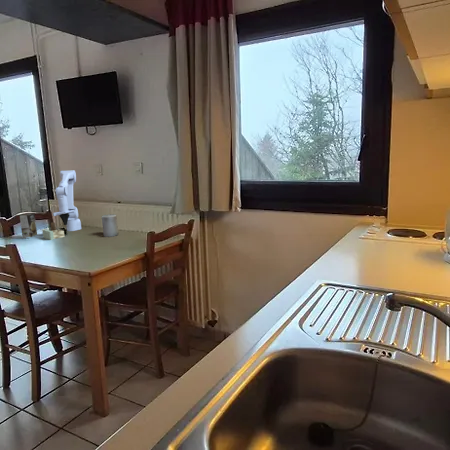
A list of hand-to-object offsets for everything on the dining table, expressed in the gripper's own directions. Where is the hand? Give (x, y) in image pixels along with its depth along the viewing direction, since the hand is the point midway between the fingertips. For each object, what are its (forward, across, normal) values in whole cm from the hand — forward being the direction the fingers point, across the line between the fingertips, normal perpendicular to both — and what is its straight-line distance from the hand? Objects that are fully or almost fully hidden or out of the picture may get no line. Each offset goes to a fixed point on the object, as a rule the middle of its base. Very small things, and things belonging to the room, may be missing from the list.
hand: (65, 224), depth 276 cm
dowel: (+8, -3, +12) cm, 15 cm away
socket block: (+7, -7, 0) cm, 10 cm away
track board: (+8, -4, 0) cm, 9 cm away
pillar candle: (+8, +21, -22) cm, 31 cm away
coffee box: (+8, -16, +21) cm, 28 cm away
